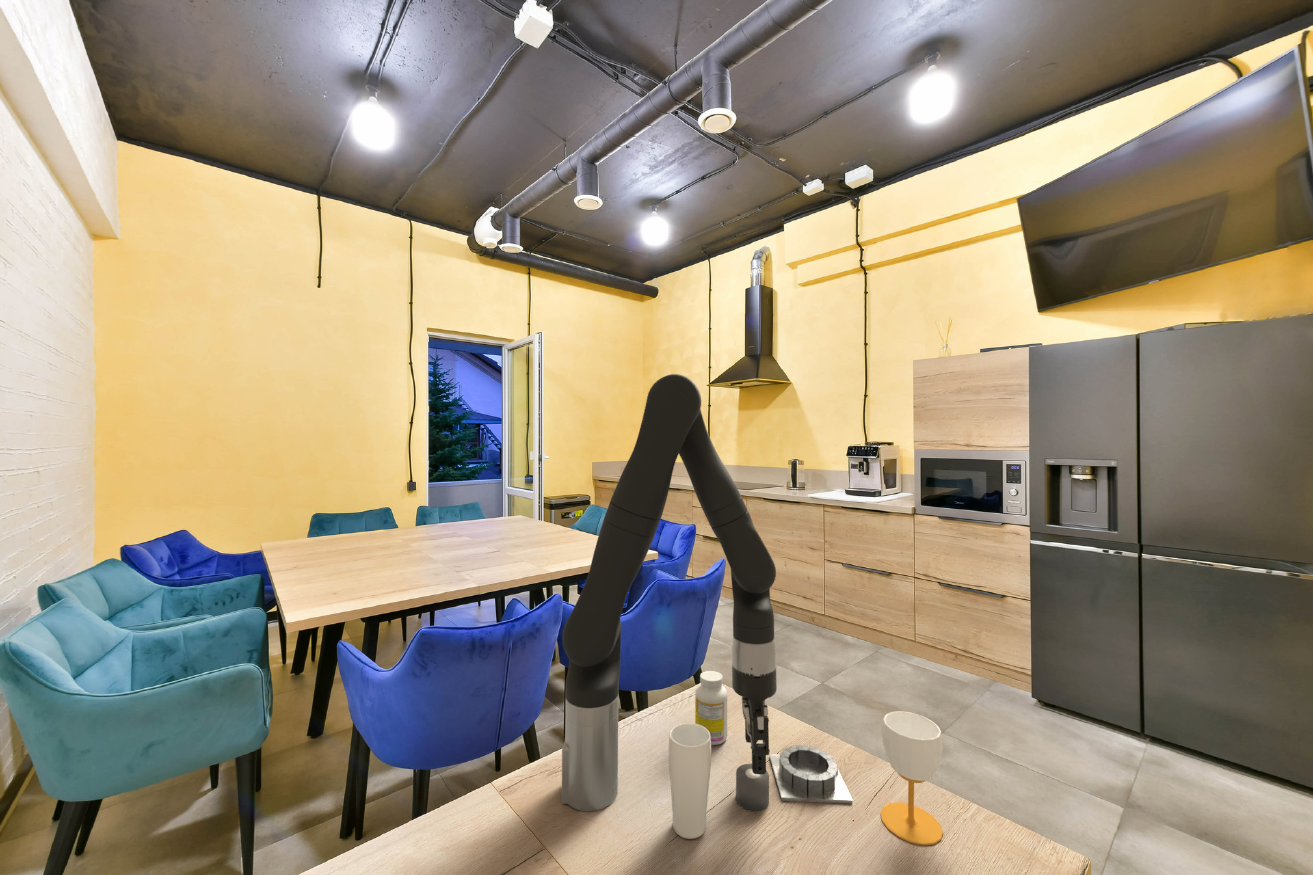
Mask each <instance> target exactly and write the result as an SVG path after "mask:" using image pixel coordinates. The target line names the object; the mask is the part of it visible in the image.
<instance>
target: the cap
mask: <svg viewBox="0 0 1313 875" xmlns="http://www.w3.org/2000/svg"><path fill="white" fill-rule="evenodd" d="M735 801H736V803H737V805H738V806H740V807H741V808H742V809H743V810H745V811H748V812H752V813H753V812H754V813H758V812H762V811H766V809H768V807H769V806H770V805H769V804H770V774H769V771H767V770H766V773H765V774H754V773H753V771H752V763H746V764H742V765H740V766H738V767H737V768H736V771H735Z"/></svg>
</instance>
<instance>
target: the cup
mask: <svg viewBox="0 0 1313 875" xmlns="http://www.w3.org/2000/svg"><path fill="white" fill-rule="evenodd" d="M881 736H882V737H881V738H882V744H883V747H884V751H885V755H886V758H887V760H888V763H889V764H890V765H889V766H891V768H892V769H893V770H894V772H895V773H897V774H898V776H899V777H900V778H901V779H903V780H905V781H906V782H908V789H907V790H908V794H907V800H908V801H907V803H906V802H902V801H901V802H900V801H899V802H890V803H888V804H886V805H884V806H883V807H882V809H881V811H880V813H879V814H880V818H881V822H882V824H884V826H885V827H886V829H887V830H889V831H890V832H891V833H892V834H893V835H895V836H896V837H897V838H898V839H901V840H903V841H905V842H908V843H910V844H915V845H918V846H934V845H936V844H937V843H939V842H940V841H942V837H943V835H944V831H943V829H942V826H941V823H940V822H939V821H938V820H937V819H936V818H935V817H934V815H932V814H930V813H929V812H927V811H926V810H925V809H923V808H921V807H919V806H916V805H915V784H923V782H927V781H929V780H930V779H932V778H933V777H934V775H935V774H936V773H937V771H938V768H939V765H940V762H941V759H942V756H943V745H944V742H943V735H942V731H941V729H940V727H939V725H937V724H936V723H935V722H934V721H933V720H931V719H929V718H927V717H925V716H923V715H921V714H919V713H918V714H917V713H914V712H910V711H902V710H900V711H897V710H896V711H890V712H888V713H886V714H885V715H884V716H883V719H882V725H881Z"/></svg>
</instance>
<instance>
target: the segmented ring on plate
mask: <svg viewBox="0 0 1313 875" xmlns="http://www.w3.org/2000/svg"><path fill="white" fill-rule="evenodd" d="M768 756H769V762H770V764H771V767H772V772H773V774H774V778H775V783H776V786H777V789H778V792H779V797H780V799H781V802H799V803H800V802H802V803H803V802H804V803H825V804H826V803H827V804H828V803H829V804H847V805H848V804H851V805H852V804H853V798H852V796H851V794H850V792H849V790H848V787H847V785H846V783H845V781H844V779H843V778H842V775H841V773H840V771H839V766H838V764H837V763H836V760H835V758H834V757H833V756H832V755H830V754H828V753H827V752H826V751H824V750H822V749H820V748H816V747H814V746H810V745H803V744H802V745H799V744H796V745H792V746H789V747H786V748H784V749H783V750H782V751H781V753H780V754H779V753H769V755H768Z"/></svg>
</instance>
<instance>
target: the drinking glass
mask: <svg viewBox="0 0 1313 875" xmlns="http://www.w3.org/2000/svg"><path fill="white" fill-rule="evenodd" d="M668 736H669V738H668V765H669V766H668V768H669V769H668V770H669V781H670V792H671V793H670V794H671V809H672V811H671V812H672V828H673V830H674V832H675V833H676V834H677V835H678V836H679V837H681V838H683V839H687V840H694V839H695V840H696V839H698V838H699V837H701V836H702V835H703V834H704V833H705V831H706V828H707V810H708V800H709V788H710V778H711V777H710V776H711V765H712V745H711V735H710V732H709V731H708V730H707V729H706V728H705V727H703V726H701V725H698V724H695V723H693V722H688V723H687V722H686V723H685V722H684V723H679V724H677V725H675V726H674V727H672V729H670V731H669V735H668Z"/></svg>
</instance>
